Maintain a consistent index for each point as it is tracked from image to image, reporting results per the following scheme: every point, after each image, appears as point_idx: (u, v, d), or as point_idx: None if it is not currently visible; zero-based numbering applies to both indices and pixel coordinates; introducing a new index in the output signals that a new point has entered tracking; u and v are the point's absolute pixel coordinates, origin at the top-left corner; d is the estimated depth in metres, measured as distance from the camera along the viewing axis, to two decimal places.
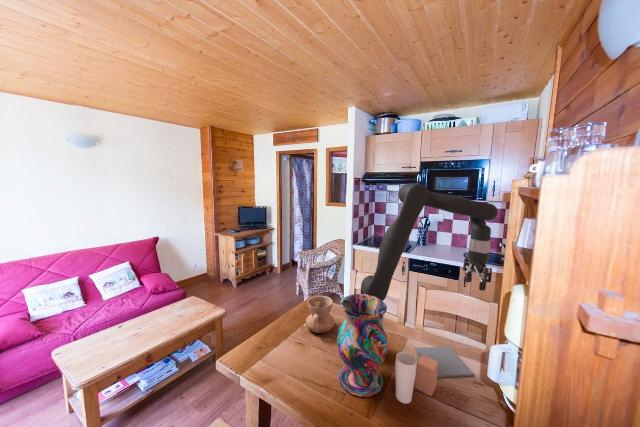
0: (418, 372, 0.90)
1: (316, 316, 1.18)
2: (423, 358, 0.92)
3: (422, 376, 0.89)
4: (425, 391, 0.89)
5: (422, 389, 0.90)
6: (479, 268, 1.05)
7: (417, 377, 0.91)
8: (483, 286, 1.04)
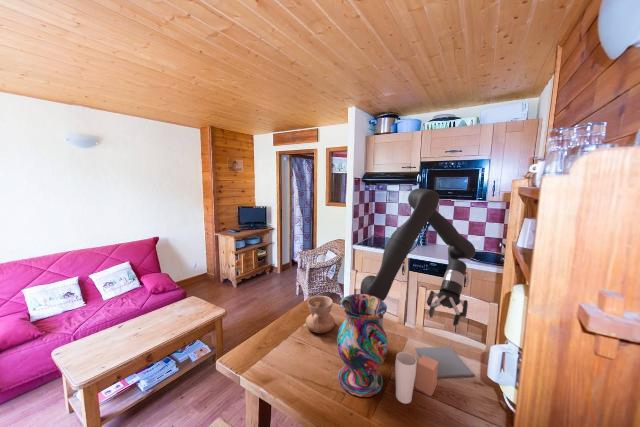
0: (418, 372, 0.90)
1: (316, 316, 1.18)
2: (423, 358, 0.92)
3: (422, 376, 0.89)
4: (425, 391, 0.89)
5: (422, 389, 0.90)
6: (455, 301, 0.99)
7: (417, 377, 0.91)
8: (458, 320, 0.95)
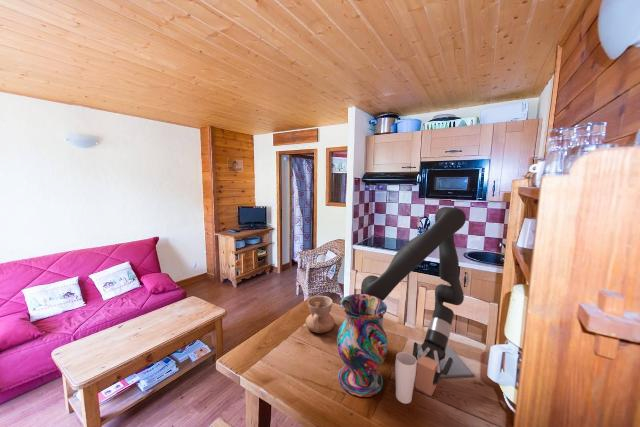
0: (418, 372, 0.90)
1: (316, 316, 1.18)
2: (423, 358, 0.92)
3: (422, 376, 0.89)
4: (425, 391, 0.89)
5: (422, 389, 0.90)
6: (440, 356, 0.91)
7: (417, 377, 0.91)
8: (438, 379, 0.88)
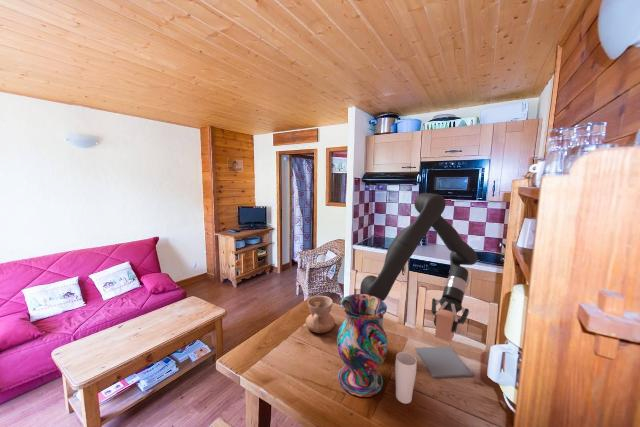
0: (437, 322, 1.00)
1: (316, 316, 1.18)
2: (441, 310, 1.02)
3: (441, 325, 0.99)
4: (444, 339, 0.99)
5: (441, 337, 1.00)
6: (457, 308, 1.01)
7: (436, 327, 1.00)
8: (456, 327, 0.98)
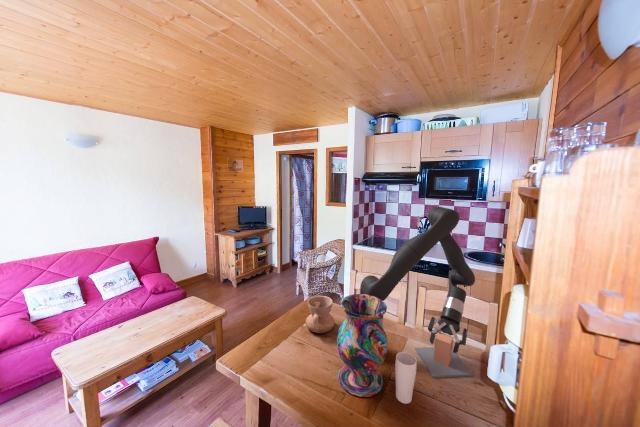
0: (436, 346, 1.03)
1: (316, 316, 1.18)
2: (440, 334, 1.05)
3: (440, 350, 1.02)
4: (442, 363, 1.02)
5: (439, 361, 1.02)
6: (455, 328, 1.04)
7: (435, 351, 1.03)
8: (458, 348, 1.00)
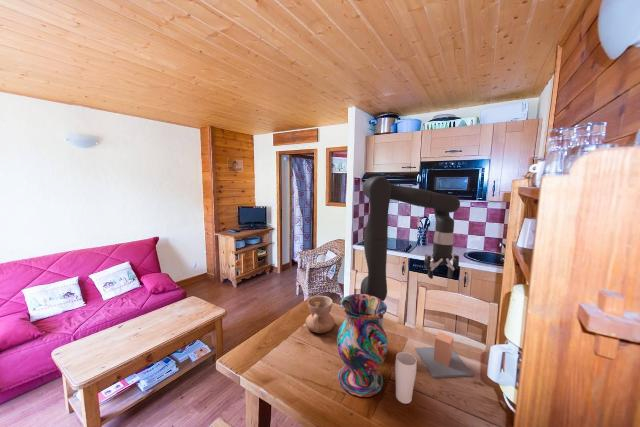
0: (436, 346, 1.03)
1: (316, 316, 1.18)
2: (440, 334, 1.05)
3: (440, 350, 1.02)
4: (442, 363, 1.02)
5: (439, 361, 1.02)
6: (449, 259, 1.08)
7: (435, 351, 1.03)
8: None
